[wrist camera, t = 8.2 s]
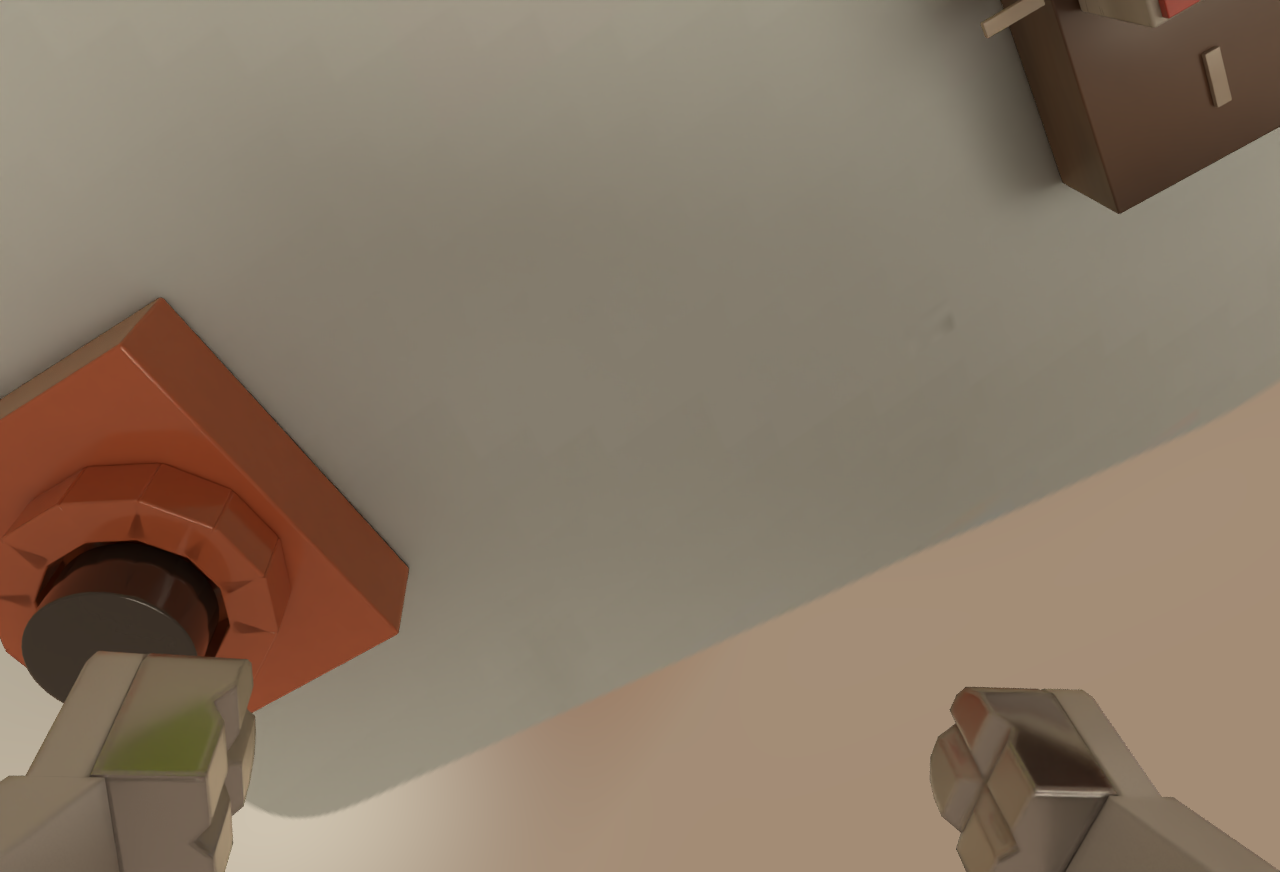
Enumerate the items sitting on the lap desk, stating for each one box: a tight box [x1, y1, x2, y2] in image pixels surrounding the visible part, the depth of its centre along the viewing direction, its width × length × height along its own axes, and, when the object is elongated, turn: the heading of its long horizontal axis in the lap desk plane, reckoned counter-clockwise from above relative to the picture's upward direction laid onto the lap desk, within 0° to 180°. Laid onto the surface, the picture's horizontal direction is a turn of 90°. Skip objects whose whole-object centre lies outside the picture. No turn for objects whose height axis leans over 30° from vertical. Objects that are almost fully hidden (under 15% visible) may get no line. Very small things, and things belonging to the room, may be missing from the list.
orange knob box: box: [0, 298, 409, 713], centre depth 27 cm, size 11×8×5 cm
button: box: [21, 543, 219, 703], centre depth 25 cm, size 4×4×2 cm
